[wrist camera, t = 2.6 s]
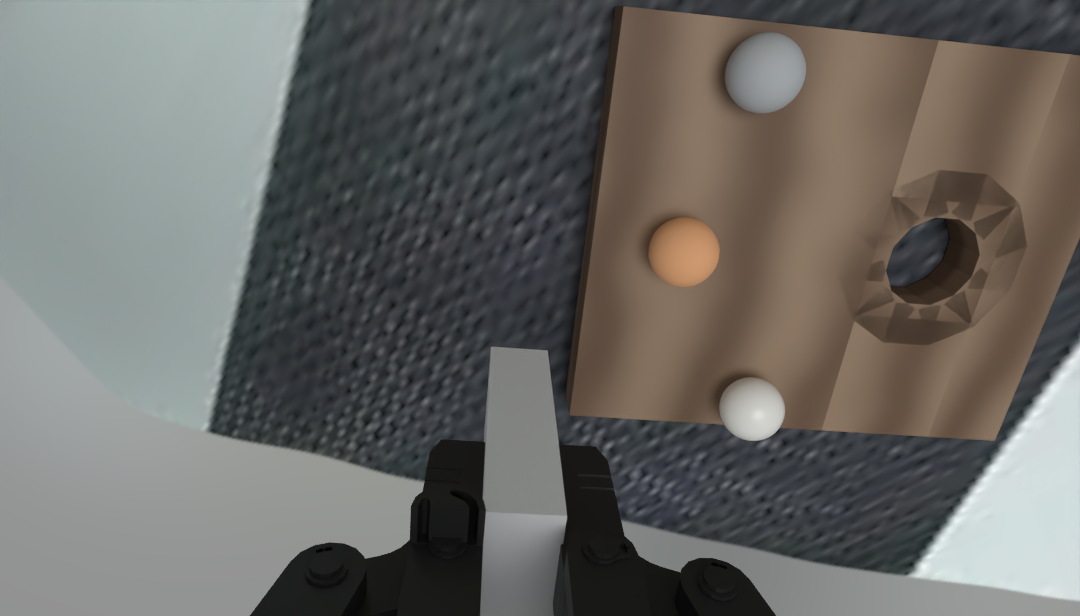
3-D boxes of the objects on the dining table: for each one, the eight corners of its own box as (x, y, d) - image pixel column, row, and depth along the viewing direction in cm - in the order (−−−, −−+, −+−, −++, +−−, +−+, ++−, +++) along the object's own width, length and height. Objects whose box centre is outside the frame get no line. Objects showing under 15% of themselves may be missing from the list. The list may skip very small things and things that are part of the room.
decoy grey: (709, 104, 31) (731, 114, 28) (723, 27, 29) (748, 29, 26) (779, 111, 31) (807, 121, 28) (796, 35, 30) (828, 37, 27)
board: (565, 391, 39) (569, 415, 37) (614, 6, 31) (623, 6, 29) (967, 416, 41) (994, 440, 38) (1107, 60, 33) (1152, 63, 31)
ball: (637, 270, 34) (650, 294, 31) (648, 206, 32) (662, 225, 29) (702, 275, 34) (720, 300, 31) (714, 211, 33) (735, 231, 30)
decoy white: (706, 416, 37) (724, 451, 34) (718, 364, 36) (737, 395, 33) (764, 420, 37) (786, 455, 34) (777, 368, 36) (802, 399, 33)
